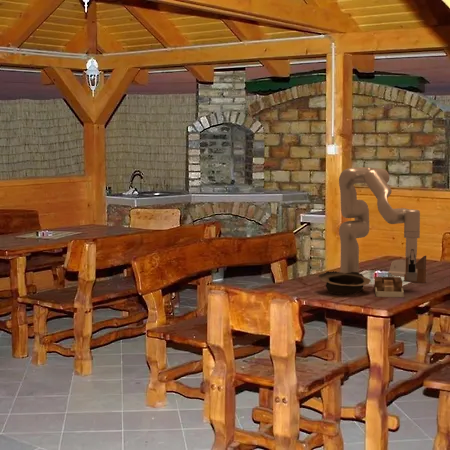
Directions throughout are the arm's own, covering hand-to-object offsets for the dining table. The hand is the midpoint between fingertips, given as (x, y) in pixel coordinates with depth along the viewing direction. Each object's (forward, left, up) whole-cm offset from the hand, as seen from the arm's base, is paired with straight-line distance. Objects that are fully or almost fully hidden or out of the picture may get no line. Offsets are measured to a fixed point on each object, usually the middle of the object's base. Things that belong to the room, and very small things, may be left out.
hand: (411, 271), depth 408 cm
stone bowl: (-32, -8, -10) cm, 35 cm away
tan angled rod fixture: (+4, +27, -10) cm, 29 cm away
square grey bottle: (0, 0, -5) cm, 5 cm away
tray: (-11, -12, -10) cm, 19 cm away
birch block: (-11, -12, -7) cm, 18 cm away
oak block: (-12, -10, -9) cm, 18 cm away
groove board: (-11, +1, -10) cm, 15 cm away
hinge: (0, +46, -10) cm, 47 cm away
